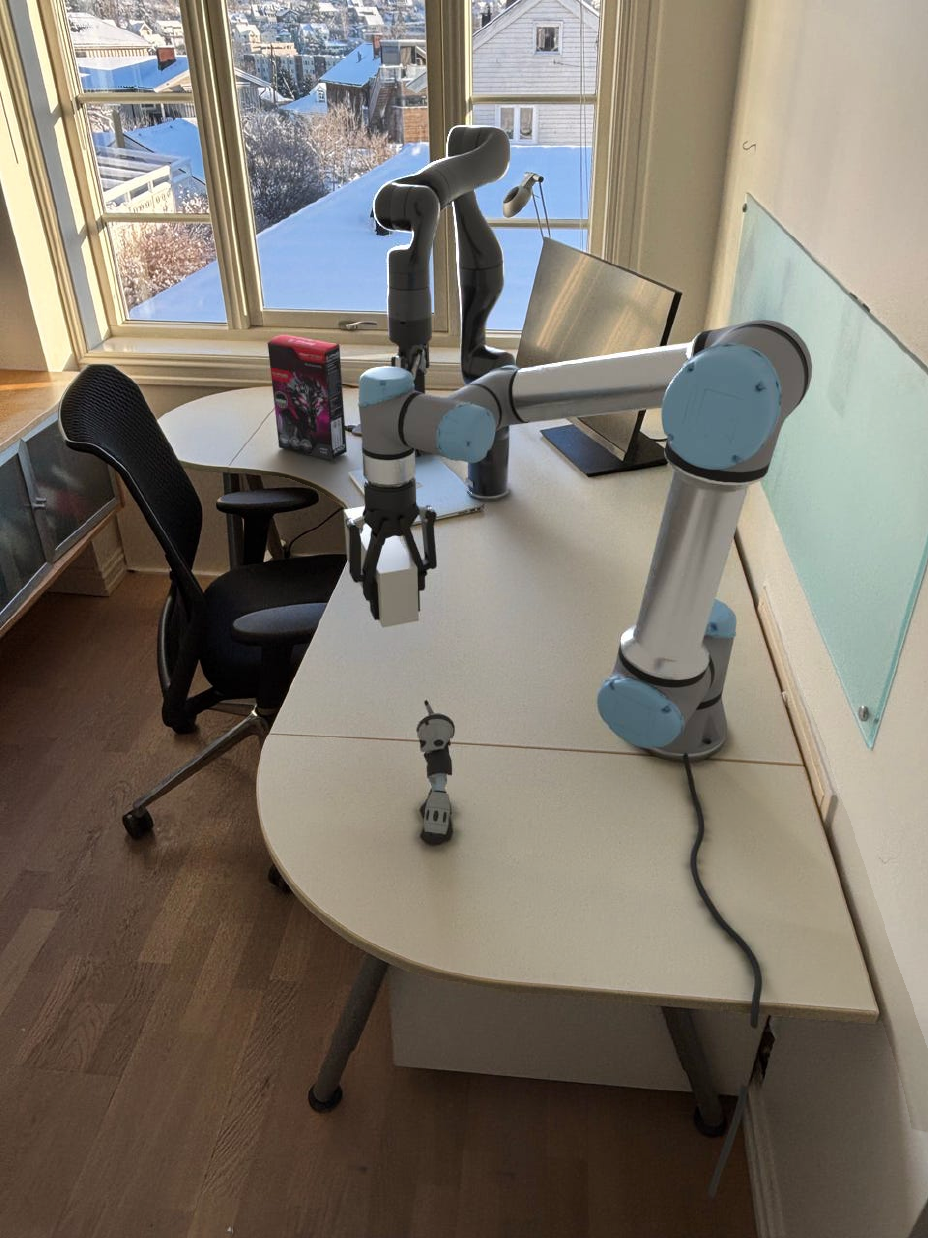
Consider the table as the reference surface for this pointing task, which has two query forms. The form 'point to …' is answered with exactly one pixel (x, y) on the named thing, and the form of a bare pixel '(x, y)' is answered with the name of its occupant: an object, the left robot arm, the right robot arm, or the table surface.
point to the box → (390, 576)
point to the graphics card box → (308, 395)
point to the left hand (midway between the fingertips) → (411, 403)
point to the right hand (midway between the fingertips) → (395, 611)
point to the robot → (436, 775)
